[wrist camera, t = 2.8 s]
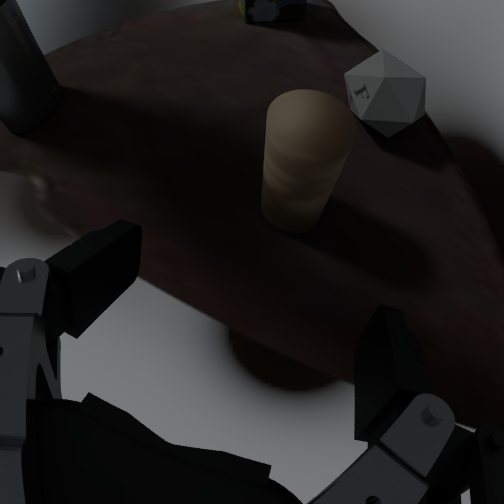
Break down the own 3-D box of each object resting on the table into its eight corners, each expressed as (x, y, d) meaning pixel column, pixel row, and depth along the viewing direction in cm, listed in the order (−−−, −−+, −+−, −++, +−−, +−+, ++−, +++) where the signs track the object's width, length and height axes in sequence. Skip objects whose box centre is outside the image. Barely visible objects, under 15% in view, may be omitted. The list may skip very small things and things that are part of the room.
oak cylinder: (252, 223, 27) (254, 139, 16) (271, 173, 28) (280, 81, 18) (313, 242, 26) (349, 167, 16) (327, 190, 28) (361, 104, 17)
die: (342, 86, 34) (325, 53, 25) (408, 68, 30) (409, 30, 21) (364, 148, 34) (354, 131, 25) (432, 131, 30) (444, 108, 21)
